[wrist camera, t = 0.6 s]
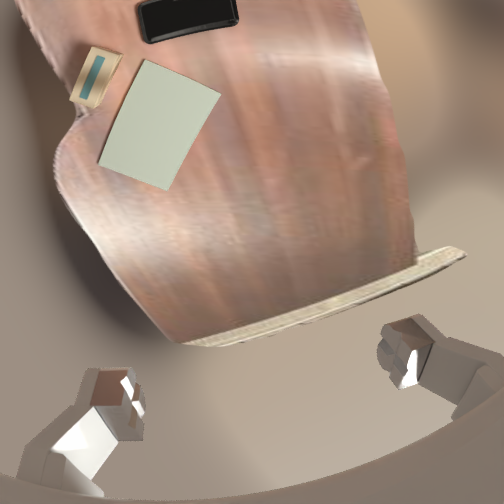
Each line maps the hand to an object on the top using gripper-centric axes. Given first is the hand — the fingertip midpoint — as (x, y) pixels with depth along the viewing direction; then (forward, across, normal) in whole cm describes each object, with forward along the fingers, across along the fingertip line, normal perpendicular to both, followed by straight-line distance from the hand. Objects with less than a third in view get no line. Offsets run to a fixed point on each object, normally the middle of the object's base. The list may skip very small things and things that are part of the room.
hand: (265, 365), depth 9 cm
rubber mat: (+45, +8, -9) cm, 47 cm away
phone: (+40, +2, -28) cm, 49 cm away
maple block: (+42, +16, -20) cm, 49 cm away
